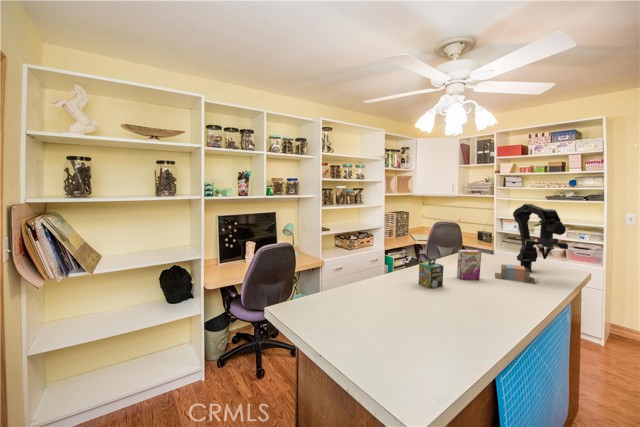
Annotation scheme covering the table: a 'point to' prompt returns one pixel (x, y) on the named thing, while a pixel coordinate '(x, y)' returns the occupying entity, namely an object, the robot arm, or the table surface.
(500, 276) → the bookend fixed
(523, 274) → the rust book
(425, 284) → the chalk box
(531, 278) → the bookend slide
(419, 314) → the table surface
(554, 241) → the robot arm
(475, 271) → the candy bar box
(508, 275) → the blue book
